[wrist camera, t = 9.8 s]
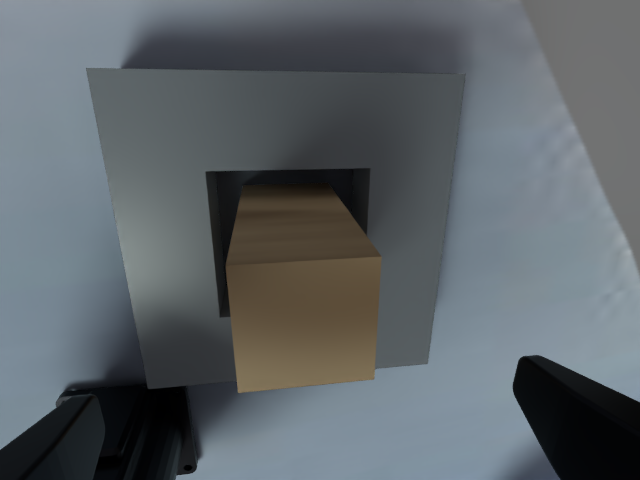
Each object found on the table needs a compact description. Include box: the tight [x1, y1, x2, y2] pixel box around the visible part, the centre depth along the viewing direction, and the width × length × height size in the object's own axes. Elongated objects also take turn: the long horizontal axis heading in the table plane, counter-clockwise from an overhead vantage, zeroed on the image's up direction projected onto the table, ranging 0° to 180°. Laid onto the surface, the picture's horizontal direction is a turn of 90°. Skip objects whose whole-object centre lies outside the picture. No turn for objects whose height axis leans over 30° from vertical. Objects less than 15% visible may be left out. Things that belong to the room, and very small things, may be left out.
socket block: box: [86, 68, 466, 389], centre depth 17 cm, size 13×13×3 cm
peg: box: [226, 182, 382, 393], centre depth 15 cm, size 4×4×9 cm
